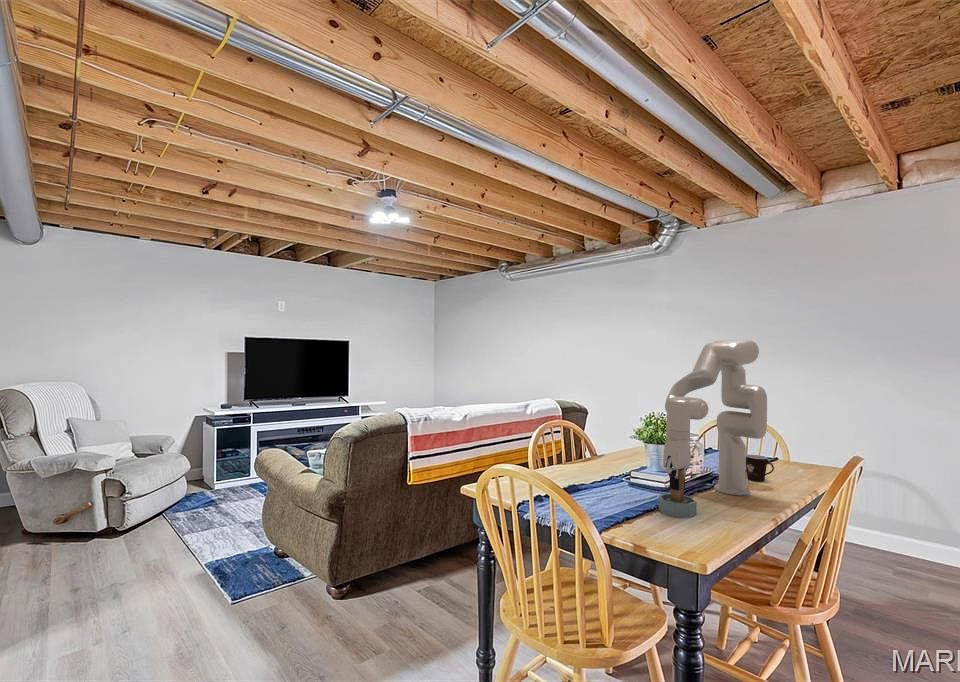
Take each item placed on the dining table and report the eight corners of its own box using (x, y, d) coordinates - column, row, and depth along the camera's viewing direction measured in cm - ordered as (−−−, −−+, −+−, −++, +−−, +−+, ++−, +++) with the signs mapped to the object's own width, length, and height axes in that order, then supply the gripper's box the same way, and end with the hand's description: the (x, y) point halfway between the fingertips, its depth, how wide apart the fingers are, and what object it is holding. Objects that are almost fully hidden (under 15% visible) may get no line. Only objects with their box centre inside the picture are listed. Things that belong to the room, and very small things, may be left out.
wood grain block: (675, 502, 169) (676, 468, 169) (683, 505, 167) (684, 469, 167) (670, 504, 167) (671, 469, 168) (679, 506, 165) (679, 471, 165)
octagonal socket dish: (671, 504, 175) (671, 491, 175) (701, 513, 166) (701, 500, 166) (653, 510, 168) (653, 497, 168) (683, 519, 159) (683, 506, 159)
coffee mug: (740, 477, 215) (741, 454, 215) (760, 477, 214) (760, 454, 214) (754, 484, 203) (754, 460, 203) (775, 485, 203) (775, 460, 203)
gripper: (680, 431, 175) (680, 482, 175) (654, 435, 166) (653, 489, 165) (700, 434, 169) (700, 487, 169) (674, 439, 160) (674, 495, 159)
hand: (677, 488), depth 167 cm, fingers closed on wood grain block, 3 cm apart
